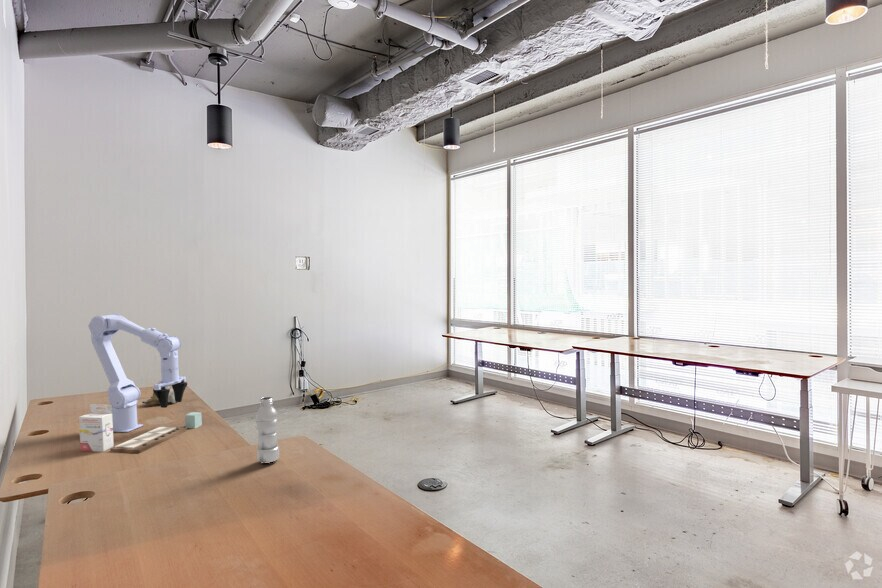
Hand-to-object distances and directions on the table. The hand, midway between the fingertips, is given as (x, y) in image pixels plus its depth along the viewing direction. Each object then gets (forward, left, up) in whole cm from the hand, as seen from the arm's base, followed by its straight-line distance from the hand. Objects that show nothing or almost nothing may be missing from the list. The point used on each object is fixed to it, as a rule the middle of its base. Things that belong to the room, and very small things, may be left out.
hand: (171, 404), depth 184 cm
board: (+1, -12, -9) cm, 15 cm away
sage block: (+6, +4, -10) cm, 12 cm away
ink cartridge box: (-11, -22, -10) cm, 26 cm away
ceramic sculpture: (-30, +32, -10) cm, 45 cm away
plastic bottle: (+53, -25, -10) cm, 59 cm away
